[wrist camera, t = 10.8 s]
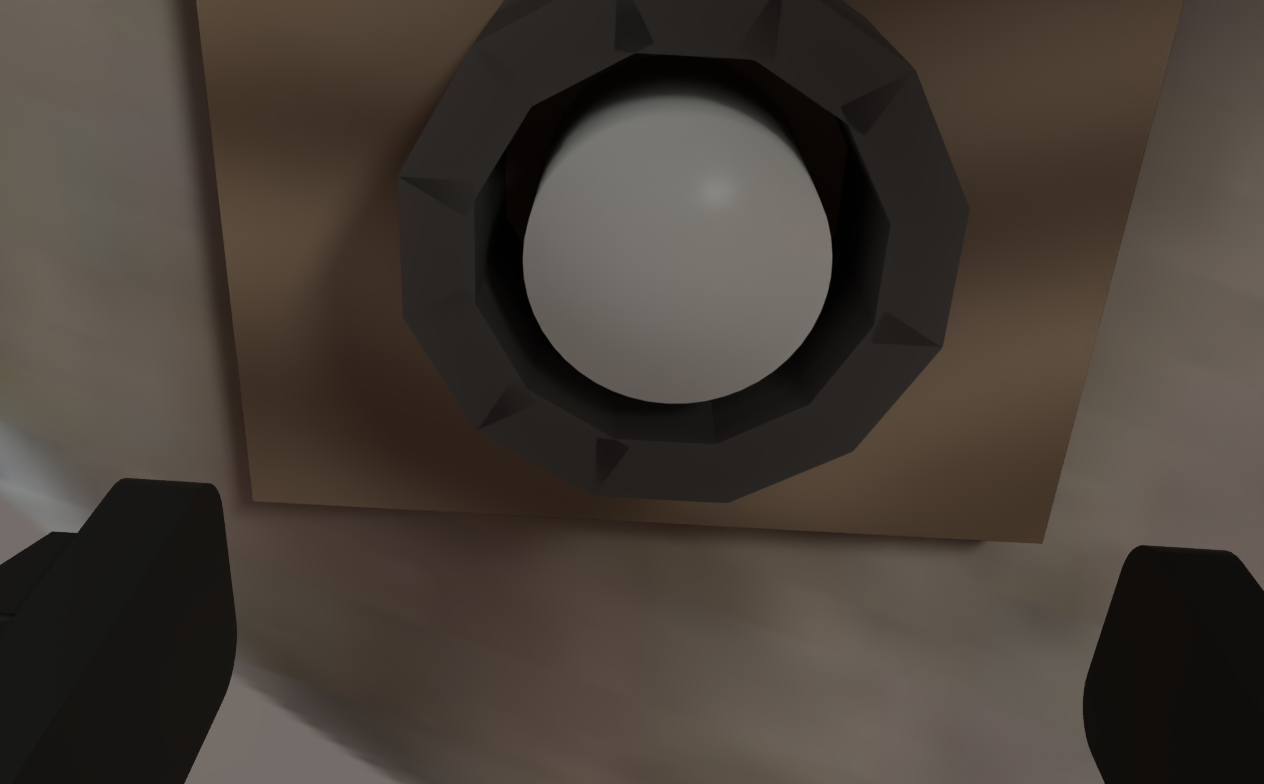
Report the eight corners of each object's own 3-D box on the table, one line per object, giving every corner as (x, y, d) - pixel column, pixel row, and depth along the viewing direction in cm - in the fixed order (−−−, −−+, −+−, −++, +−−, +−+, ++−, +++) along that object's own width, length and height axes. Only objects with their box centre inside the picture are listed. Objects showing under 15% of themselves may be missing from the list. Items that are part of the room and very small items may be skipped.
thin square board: (191, -317, 20) (27, -355, 15) (1212, -254, 21) (1410, -270, 15) (271, 467, 28) (181, 628, 22) (1023, 507, 28) (1111, 676, 23)
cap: (548, 46, 22) (523, 104, 18) (815, 61, 22) (852, 122, 18) (543, 294, 24) (521, 395, 20) (785, 308, 24) (811, 411, 20)
